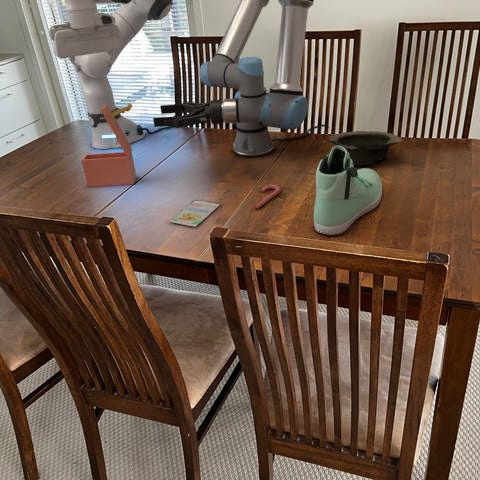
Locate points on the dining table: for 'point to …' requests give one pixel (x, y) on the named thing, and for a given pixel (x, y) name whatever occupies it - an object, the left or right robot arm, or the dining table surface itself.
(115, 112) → the block with yellow handle
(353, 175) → the sneaker
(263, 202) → the candy cane
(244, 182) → the dining table surface
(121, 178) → the open box
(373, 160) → the dark brown hat
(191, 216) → the baking ingredient package
